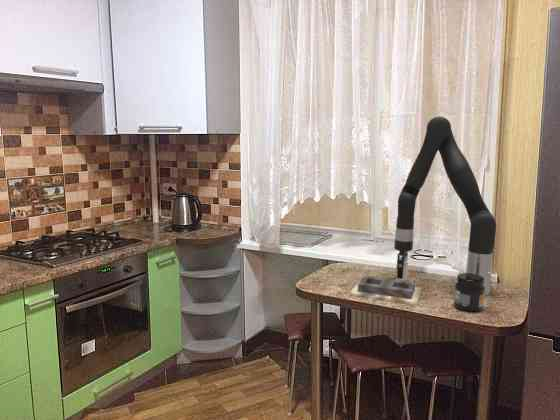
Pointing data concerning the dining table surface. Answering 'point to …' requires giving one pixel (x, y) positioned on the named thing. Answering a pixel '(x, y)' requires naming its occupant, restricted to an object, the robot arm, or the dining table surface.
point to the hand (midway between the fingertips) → (401, 275)
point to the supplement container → (469, 292)
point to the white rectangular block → (403, 273)
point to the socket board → (387, 290)
